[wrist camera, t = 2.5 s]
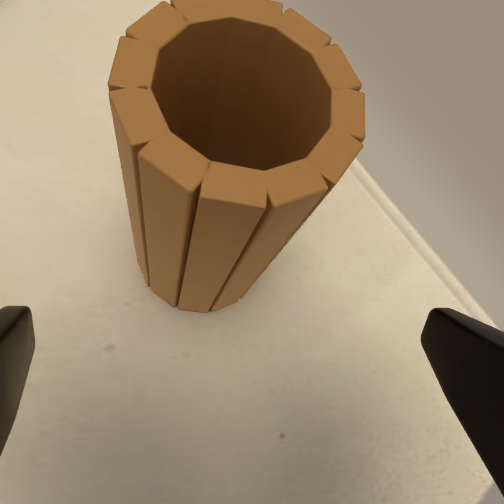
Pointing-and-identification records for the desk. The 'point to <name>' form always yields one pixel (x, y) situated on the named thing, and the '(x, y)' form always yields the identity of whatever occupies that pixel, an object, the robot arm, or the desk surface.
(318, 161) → the wooden stave pencil cup
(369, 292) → the desk surface
